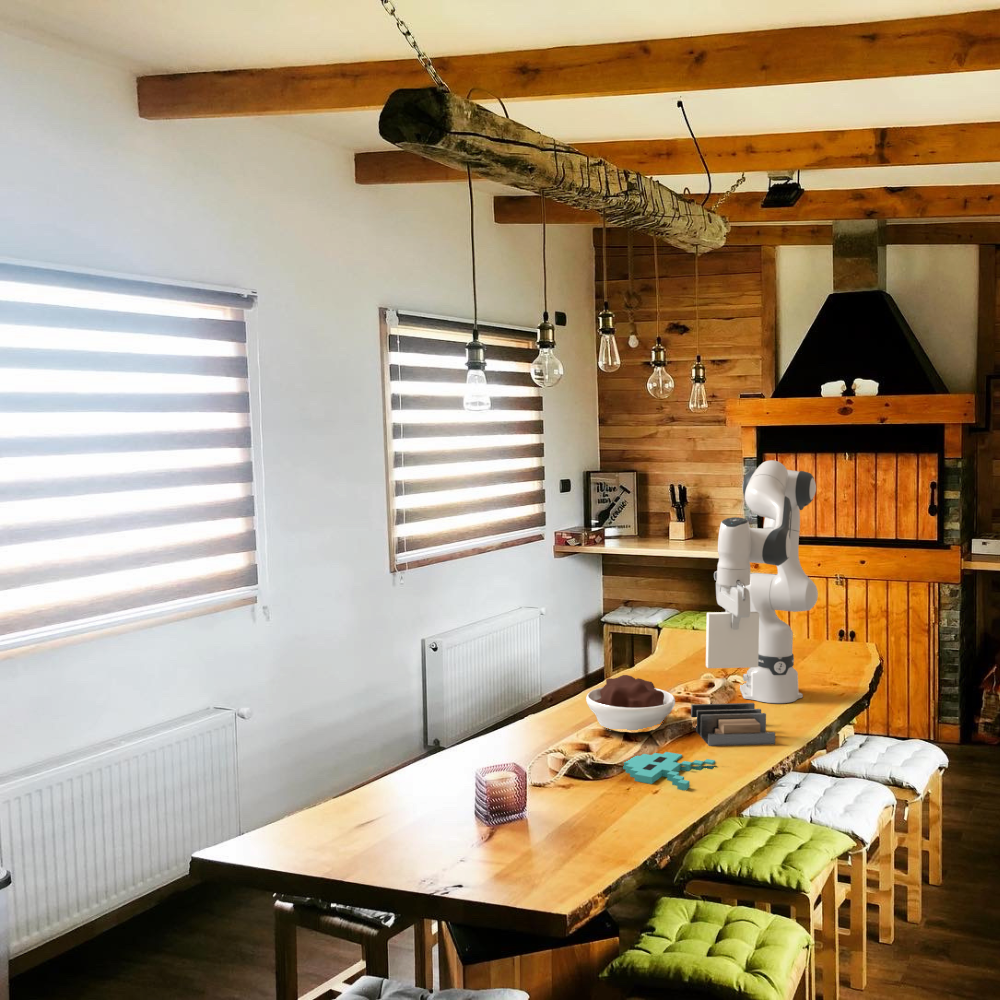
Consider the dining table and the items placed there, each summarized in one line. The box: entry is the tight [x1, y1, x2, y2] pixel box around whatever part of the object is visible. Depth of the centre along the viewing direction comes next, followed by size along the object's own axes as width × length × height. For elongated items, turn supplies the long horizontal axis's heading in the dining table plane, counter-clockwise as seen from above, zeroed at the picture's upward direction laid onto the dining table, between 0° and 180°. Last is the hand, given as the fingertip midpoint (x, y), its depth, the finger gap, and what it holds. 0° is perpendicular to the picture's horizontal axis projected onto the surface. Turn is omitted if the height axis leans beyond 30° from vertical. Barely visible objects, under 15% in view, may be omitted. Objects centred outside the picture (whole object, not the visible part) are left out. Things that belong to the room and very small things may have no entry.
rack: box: [690, 702, 776, 747], centre depth 303 cm, size 19×18×7 cm
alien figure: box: [622, 751, 716, 791], centre depth 277 cm, size 20×2×20 cm
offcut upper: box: [718, 719, 760, 733], centre depth 298 cm, size 5×10×2 cm, turn 95°
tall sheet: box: [705, 611, 759, 669], centre depth 302 cm, size 2×14×15 cm, turn 95°
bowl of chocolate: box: [585, 674, 676, 730], centre depth 312 cm, size 25×25×15 cm
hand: (732, 627), depth 302 cm, fingers closed on tall sheet, 2 cm apart
